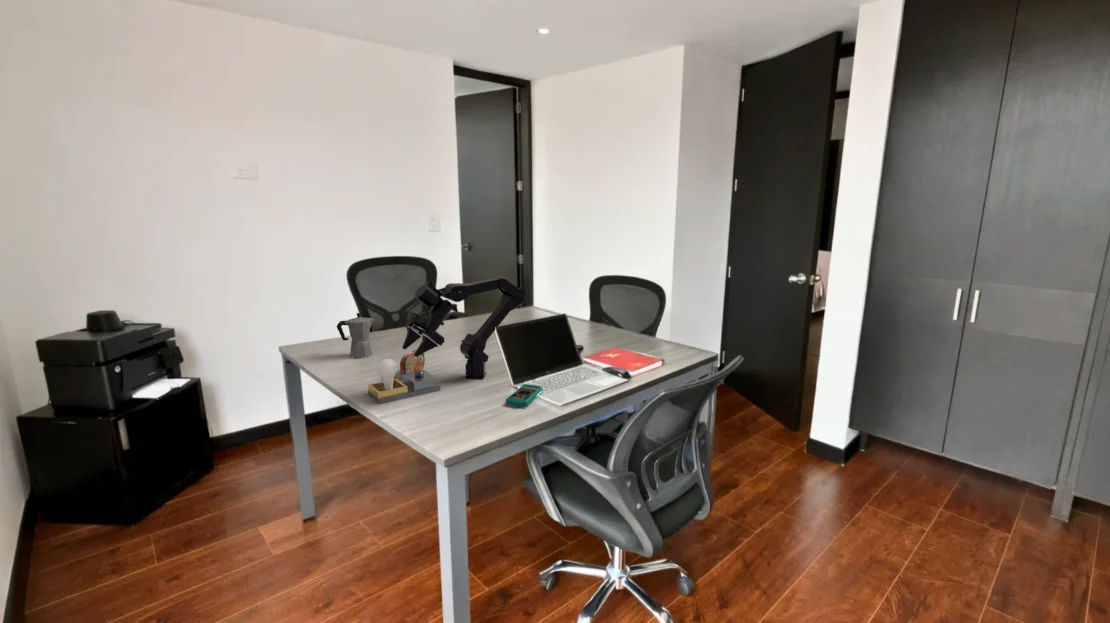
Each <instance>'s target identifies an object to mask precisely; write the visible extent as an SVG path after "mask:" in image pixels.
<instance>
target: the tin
mask: <svg viewBox="0 0 1110 623" xmlns="http://www.w3.org/2000/svg"><path fill="white" fill-rule="evenodd" d="M416 350H417V349H413V350H412V351H410V352H408V353H406V354H404V355H403V356H402V357H401V358H400V362H399V370H400V371H399V372H400V375H401V376H402V374H407V373H413V372H415V371H423V370H424V366H425V362H426V361H425V353H423V354H421V355H419V356H418V357H416V356H414V354H415V352H416Z"/></svg>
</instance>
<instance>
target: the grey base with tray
mask: <svg viewBox="0 0 1110 623" xmlns="http://www.w3.org/2000/svg"><path fill="white" fill-rule="evenodd" d="M401 377H402V381H400V380H399V379H398V378H394V380H393V389H390V390H385V387H384V384H383V381H378V382H374V383H373V382H372V383H369V384H367V387H368V388H367V395H369V396H370V397H371V398H372V399H373V400H375V402H376V403H378V404H379V405H381V404H386V402H387V403H390V401H391V402H394V400H395V401H399V399H400V400H404V399H409V398H412V397H417V396H421V395H425V394H430V393H434V391H435V392H439V391H441V385H439V384H438V382H437V381H438V380H437V379H438V378H437V377H436V376H434V374H431V373H430V372H428V371H426V370H425V369H422V371H415V372H413V373H407V374H402V375H401ZM408 397H409V398H408ZM403 398H404V399H403Z"/></svg>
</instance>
